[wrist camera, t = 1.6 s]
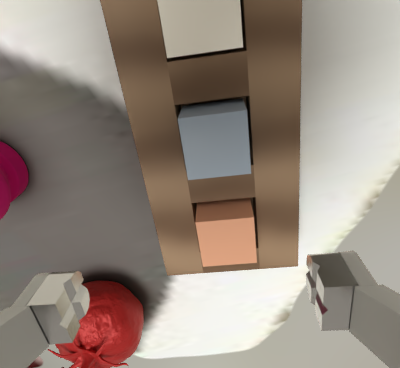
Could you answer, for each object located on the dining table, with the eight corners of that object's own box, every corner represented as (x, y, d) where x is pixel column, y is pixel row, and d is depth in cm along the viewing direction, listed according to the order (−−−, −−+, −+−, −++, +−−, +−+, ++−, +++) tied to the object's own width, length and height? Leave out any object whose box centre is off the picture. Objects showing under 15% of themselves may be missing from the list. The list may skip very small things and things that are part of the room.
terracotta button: (197, 199, 26) (195, 222, 23) (249, 194, 26) (254, 217, 22) (204, 240, 28) (202, 266, 25) (252, 236, 28) (256, 262, 24)
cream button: (162, -23, 19) (151, -33, 16) (233, -36, 18) (236, -48, 15) (174, 53, 21) (167, 58, 18) (238, 44, 20) (242, 47, 17)
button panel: (104, -58, 20) (81, -76, 17) (287, -92, 19) (303, -119, 16) (172, 248, 32) (167, 275, 29) (288, 238, 31) (297, 266, 27)
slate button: (182, 105, 22) (177, 118, 19) (242, 98, 22) (247, 110, 19) (191, 160, 24) (188, 180, 21) (246, 154, 24) (251, 173, 21)
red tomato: (134, 261, 34) (110, 336, 25) (159, 322, 38) (146, 404, 29) (52, 274, 35) (3, 351, 26) (85, 333, 39) (52, 414, 31)
